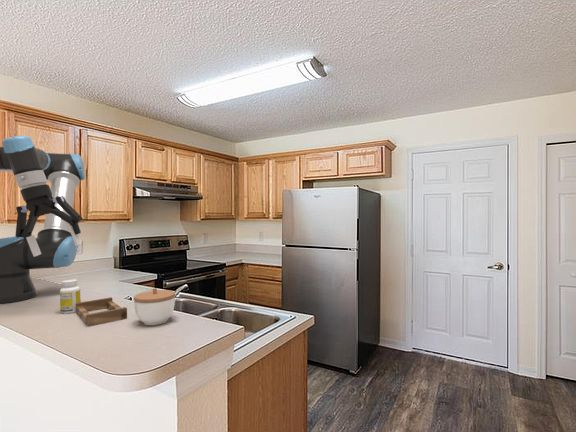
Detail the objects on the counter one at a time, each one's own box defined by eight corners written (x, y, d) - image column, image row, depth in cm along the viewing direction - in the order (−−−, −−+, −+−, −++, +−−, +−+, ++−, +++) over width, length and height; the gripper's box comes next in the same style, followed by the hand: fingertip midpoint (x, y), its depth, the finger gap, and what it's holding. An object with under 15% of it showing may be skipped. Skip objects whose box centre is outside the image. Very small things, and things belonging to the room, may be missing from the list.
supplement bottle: (77, 308, 110) (76, 278, 109) (83, 310, 106) (82, 280, 106) (57, 312, 105) (57, 281, 105) (63, 315, 102) (63, 283, 102)
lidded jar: (159, 314, 101) (158, 283, 101) (183, 319, 95) (183, 286, 95) (126, 324, 92) (125, 290, 92) (151, 330, 86) (150, 294, 86)
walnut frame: (76, 312, 104) (75, 303, 104) (111, 306, 111) (111, 297, 111) (87, 326, 91) (87, 315, 90) (127, 318, 97) (126, 308, 97)
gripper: (-16, 197, 101) (11, 263, 104) (66, 176, 101) (90, 242, 105) (4, 195, 108) (28, 256, 112) (79, 176, 109) (101, 237, 112)
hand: (58, 250), depth 108 cm, fingers open, 13 cm apart
